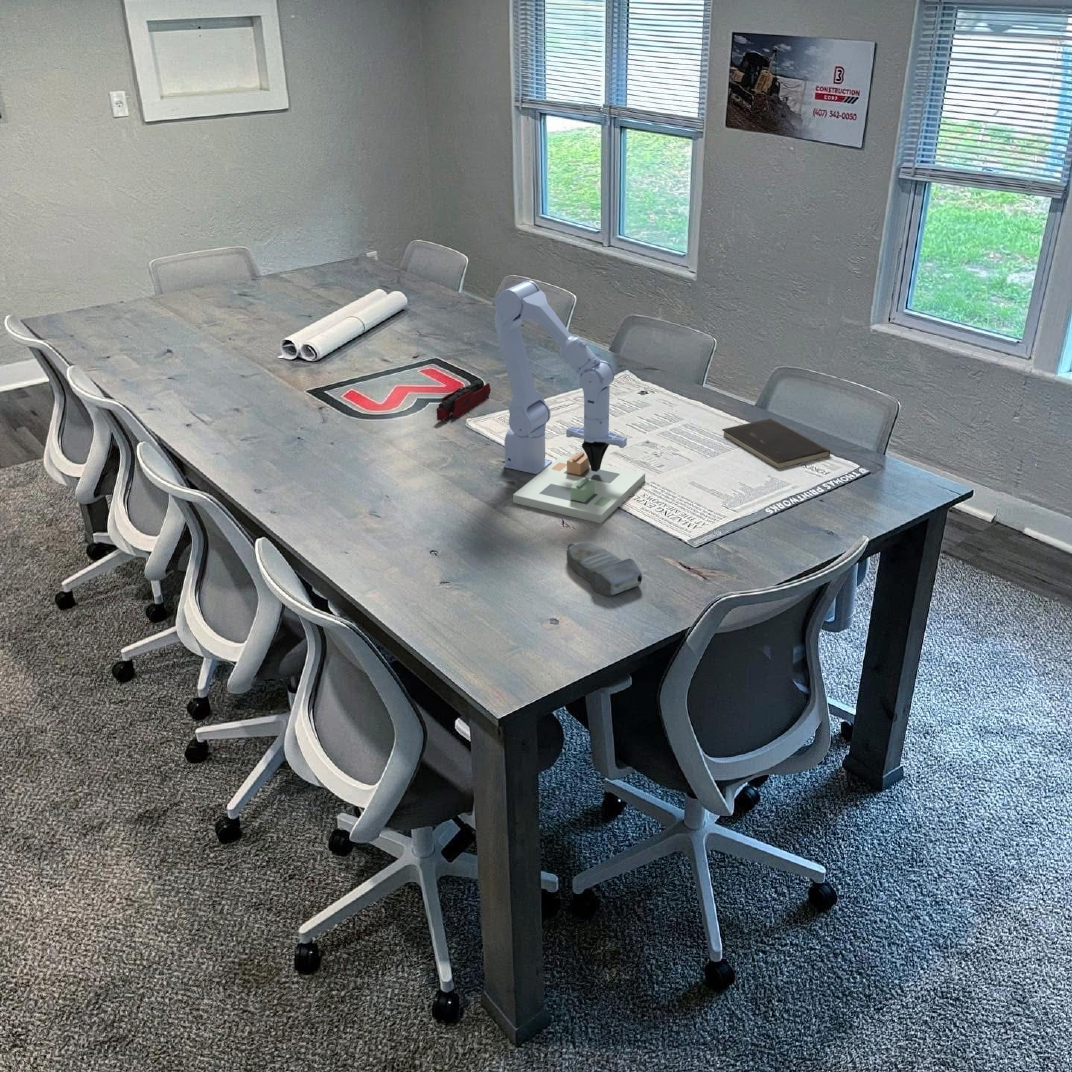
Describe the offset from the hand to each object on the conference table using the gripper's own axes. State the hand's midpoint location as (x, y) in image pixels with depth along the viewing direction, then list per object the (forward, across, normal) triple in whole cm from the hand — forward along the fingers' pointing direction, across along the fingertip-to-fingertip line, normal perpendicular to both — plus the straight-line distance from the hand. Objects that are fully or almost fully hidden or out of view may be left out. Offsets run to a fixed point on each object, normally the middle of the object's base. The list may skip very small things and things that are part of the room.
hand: (595, 469), depth 246 cm
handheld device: (+4, +18, -37) cm, 42 cm away
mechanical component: (+4, -52, +25) cm, 58 cm away
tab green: (+1, +3, -12) cm, 12 cm away
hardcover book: (+4, +31, +40) cm, 50 cm away
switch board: (+3, -1, -6) cm, 7 cm away
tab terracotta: (+1, -5, 0) cm, 5 cm away
